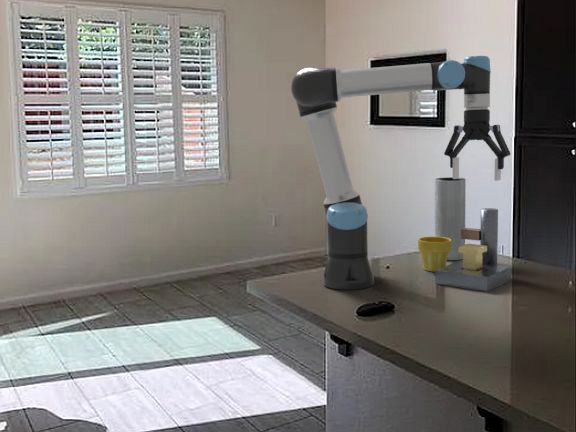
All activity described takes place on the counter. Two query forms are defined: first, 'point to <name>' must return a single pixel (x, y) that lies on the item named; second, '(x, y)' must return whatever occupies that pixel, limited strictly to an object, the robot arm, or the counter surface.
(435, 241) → the plant pot
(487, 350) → the counter surface
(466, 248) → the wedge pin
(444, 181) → the vase
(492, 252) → the gray post stand
